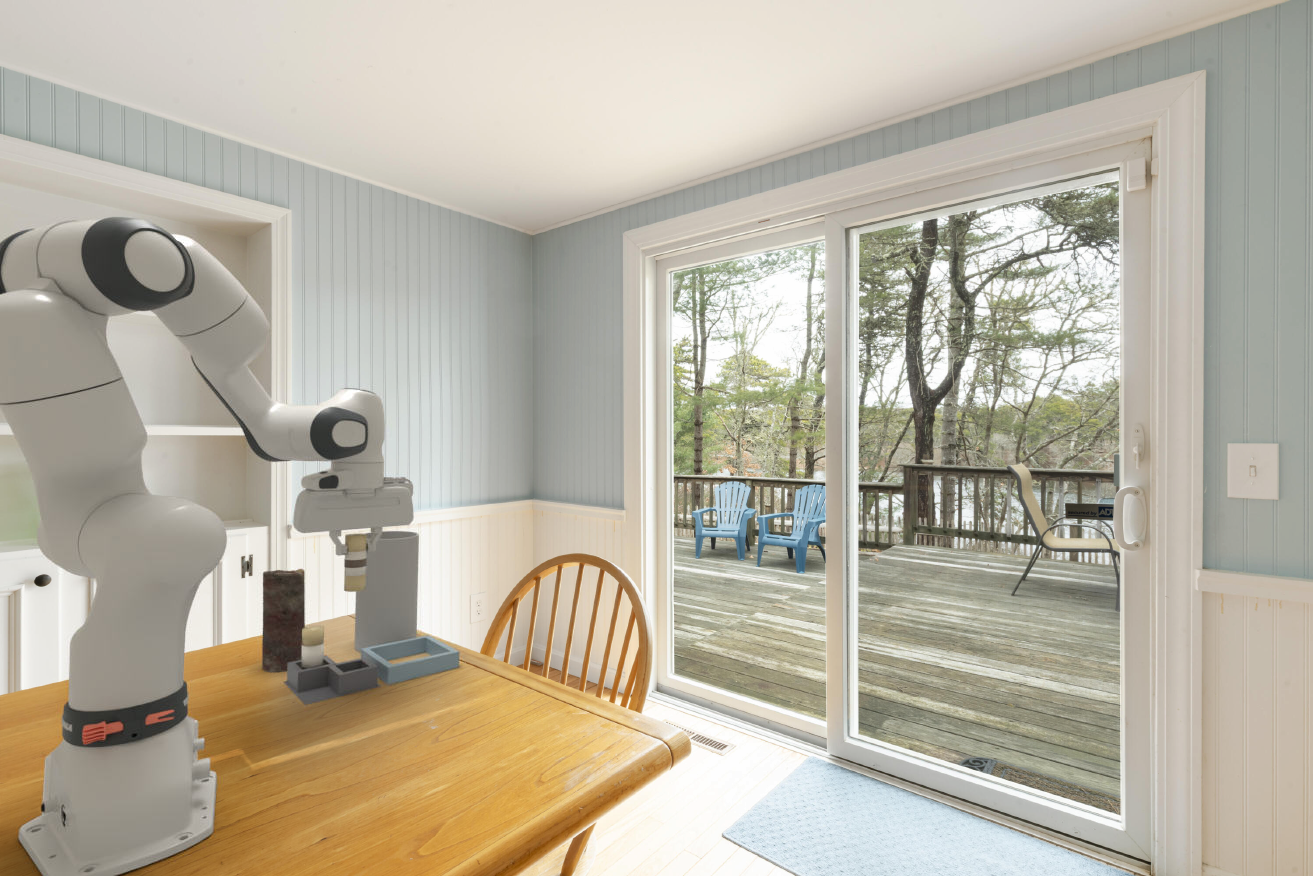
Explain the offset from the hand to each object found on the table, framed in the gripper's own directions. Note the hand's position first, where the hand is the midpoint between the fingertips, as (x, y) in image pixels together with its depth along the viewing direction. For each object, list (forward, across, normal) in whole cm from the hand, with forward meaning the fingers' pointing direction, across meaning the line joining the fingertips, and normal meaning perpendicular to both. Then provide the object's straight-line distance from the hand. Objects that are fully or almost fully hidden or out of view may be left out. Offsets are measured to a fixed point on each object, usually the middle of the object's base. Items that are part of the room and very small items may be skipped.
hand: (355, 553), depth 117 cm
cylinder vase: (+25, -13, -19) cm, 34 cm away
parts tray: (+25, -12, -3) cm, 28 cm away
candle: (+25, +7, -19) cm, 32 cm away
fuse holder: (+25, +3, -3) cm, 25 cm away
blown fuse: (+7, 0, 0) cm, 7 cm away
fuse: (+24, +5, -6) cm, 25 cm away
